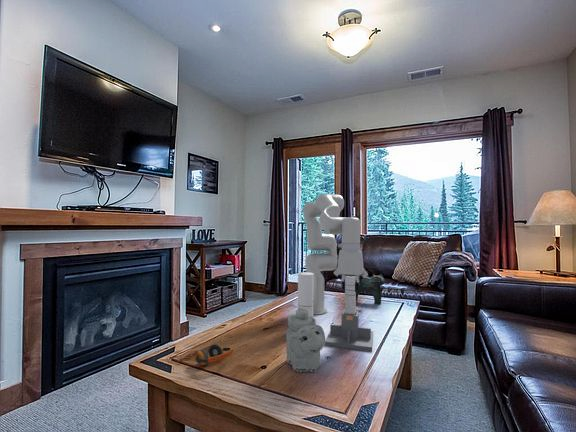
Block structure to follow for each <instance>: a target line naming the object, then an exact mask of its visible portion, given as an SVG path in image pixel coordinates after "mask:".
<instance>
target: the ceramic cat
mask: <svg viewBox="0 0 576 432" xmlns="http://www.w3.org/2000/svg"><path fill="white" fill-rule="evenodd" d="M369 271H371V272H372V273H374V272H373V270H372V269H368V270H367V271H366V272H367V273H368V272H369ZM384 284H385V278H384V276H383V274H382V273H380V274H379V275H375V274H372V276H369V275H368V276H367V277H365V278H363V279H362V280H361V281H360V282H359V290H357V292H356V302H357V301H358V300H359V299H358V298H359V294H360V293H362V292H366V293H369V294H371V295H372V298H373V301H374V305H382V296H383V295H382V287H383V285H384Z"/></svg>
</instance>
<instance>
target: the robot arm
mask: <svg viewBox="0 0 576 432" xmlns="http://www.w3.org/2000/svg"><path fill="white" fill-rule="evenodd" d="M344 207H345V199H344V198H343V196H342V195H340V194H334V193H333V194H330V193H329V194H326V193H324V194H319V195H318V196H317V197H316V199H315V201H308V202H305V204H304V205H303V209H302V215H303V219H304V222H305V224H306V225H305V226H306V236H307V237H306V240H307V247H308V250H309V251H313V252H317V253H309V254H307V256H306V257H305V269H306V272H309V273H313V274H314V286H313V315H324V314H326V313H327V312H328V309H327V308H326V307H325V277H324V275H323V274H322V273H321V272H323V271H333V275H335V276H336V277H337V278H338V279H339V280H340V281H341V290H343V292H344V293H345V277H346V276H354V277H356V282H355V292H357V290H359V282H360V281H361V280H362V279H363V278H365V277H367V276H368V277H369V273H368V272H367V271H366V269H365V267H364V258H363V257H364V256H363V251H362V250H361V220H360V219H359V217H345V216H344V217H341V216H340V214H341V211H342V210H343V209H344ZM318 218H319V219H318ZM323 231H324V233H323ZM334 235H341V243H338V244H337V240H336V237H335V236H334ZM337 247H338V248H340V250H339V253H337V252H338V250H337V249H338V248H337ZM321 251H322V252H324V253H321Z"/></svg>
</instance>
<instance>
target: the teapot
mask: <svg viewBox="0 0 576 432" xmlns="http://www.w3.org/2000/svg"><path fill="white" fill-rule="evenodd" d="M308 315H309V314H308V311H307V310H306V309H303V308H302V309H301V307H298V306H297V310H296V312H295V313H294V314H289V316H288V317H287V324H288V327H287V329H286V333H285V334H286V335H285V338H286V340H285V341H286V347H285V348H286V349H285V351H286V352H285V353H286V362H287V364H289V365H291V366H292V369H293V371H295V372H298V373H316V372H318V371H319V369H320V360H321V351H322V350H323V348H324V346H325V340H326V336H325V332H324V328H323V327H322V326H321V325H318V324H316V323H317V322H316V318H314V316H313V317H311V316H308Z"/></svg>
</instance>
